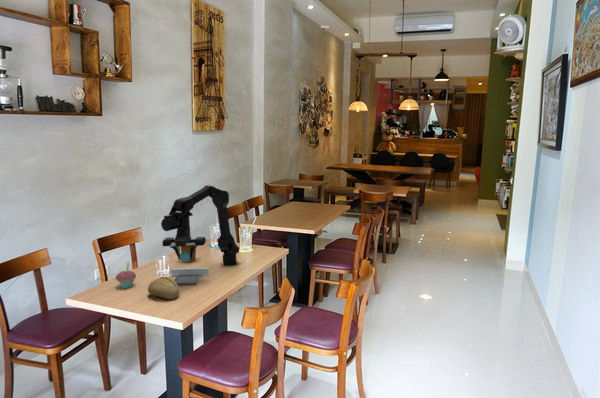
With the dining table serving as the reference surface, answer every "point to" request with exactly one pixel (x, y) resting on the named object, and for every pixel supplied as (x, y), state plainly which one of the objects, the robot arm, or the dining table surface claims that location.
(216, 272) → the dining table surface
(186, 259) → the ball
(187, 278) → the dish
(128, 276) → the cupcake
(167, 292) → the bread roll
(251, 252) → the dining table surface
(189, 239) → the robot arm
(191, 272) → the wall
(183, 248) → the disposable coffee cup
